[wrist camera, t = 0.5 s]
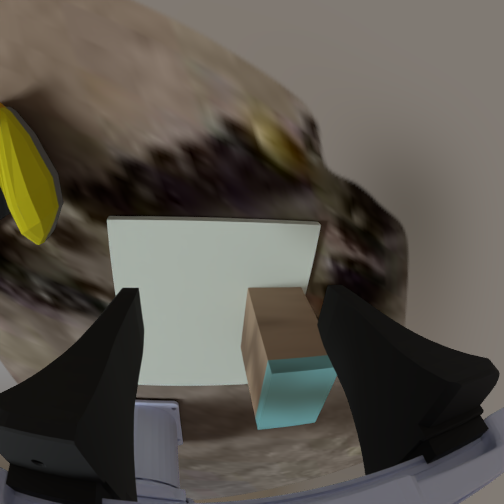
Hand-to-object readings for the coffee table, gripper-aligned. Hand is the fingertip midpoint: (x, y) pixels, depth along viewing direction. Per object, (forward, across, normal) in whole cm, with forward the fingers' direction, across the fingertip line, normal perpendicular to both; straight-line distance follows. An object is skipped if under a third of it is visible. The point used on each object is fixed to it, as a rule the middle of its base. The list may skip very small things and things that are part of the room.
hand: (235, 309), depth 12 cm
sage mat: (+10, 0, +8) cm, 13 cm away
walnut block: (+9, -4, +8) cm, 13 cm away
